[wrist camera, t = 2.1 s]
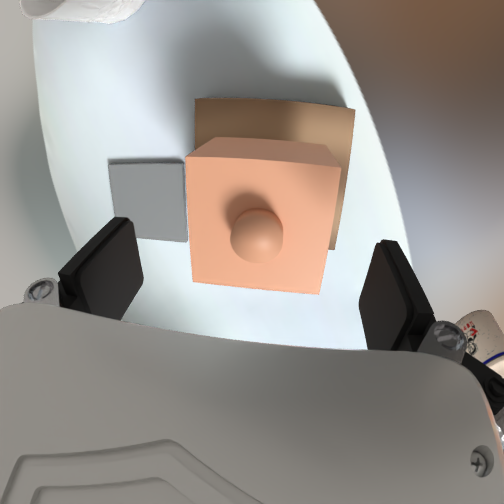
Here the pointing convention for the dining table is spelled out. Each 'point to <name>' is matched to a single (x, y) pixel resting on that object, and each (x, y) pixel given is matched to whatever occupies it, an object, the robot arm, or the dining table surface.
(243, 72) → the dining table surface
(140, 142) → the dining table surface
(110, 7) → the white cup
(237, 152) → the peach cube
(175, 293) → the dining table surface
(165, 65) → the dining table surface
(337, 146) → the post base
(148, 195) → the coaster
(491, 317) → the teacup with lid
